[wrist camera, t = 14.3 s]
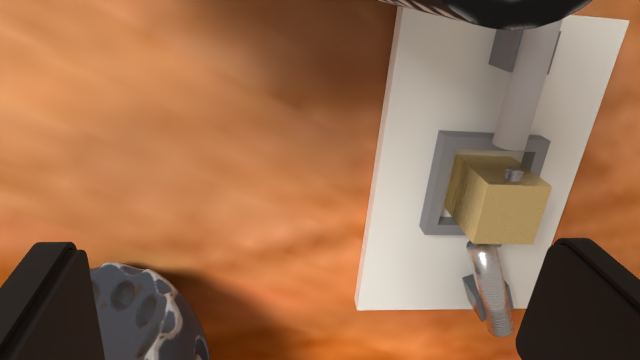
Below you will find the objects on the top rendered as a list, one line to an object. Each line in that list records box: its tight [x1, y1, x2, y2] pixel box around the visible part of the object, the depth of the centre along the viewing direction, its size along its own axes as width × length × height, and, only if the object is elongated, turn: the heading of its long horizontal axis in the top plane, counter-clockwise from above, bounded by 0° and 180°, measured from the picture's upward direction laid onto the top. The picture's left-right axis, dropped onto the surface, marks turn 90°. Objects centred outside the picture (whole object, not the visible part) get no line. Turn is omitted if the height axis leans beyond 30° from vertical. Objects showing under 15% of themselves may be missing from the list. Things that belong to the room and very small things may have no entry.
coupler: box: [444, 154, 552, 247], centre depth 36 cm, size 6×5×6 cm
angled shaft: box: [462, 240, 514, 337], centre depth 41 cm, size 10×3×4 cm, turn 20°
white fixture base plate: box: [354, 6, 629, 310], centre depth 38 cm, size 28×18×6 cm, turn 175°
